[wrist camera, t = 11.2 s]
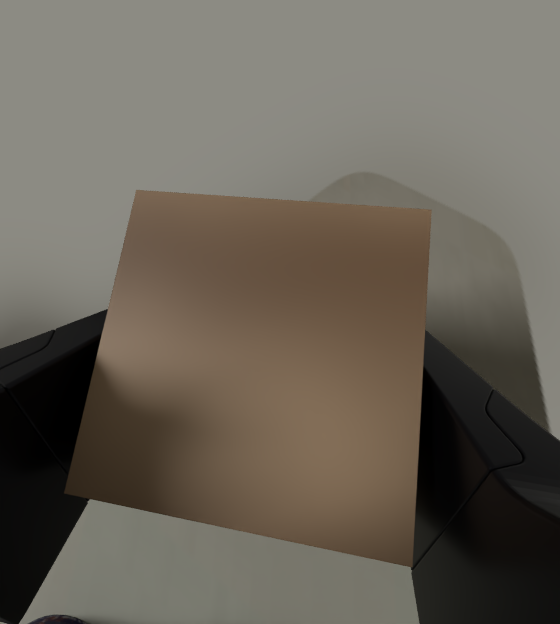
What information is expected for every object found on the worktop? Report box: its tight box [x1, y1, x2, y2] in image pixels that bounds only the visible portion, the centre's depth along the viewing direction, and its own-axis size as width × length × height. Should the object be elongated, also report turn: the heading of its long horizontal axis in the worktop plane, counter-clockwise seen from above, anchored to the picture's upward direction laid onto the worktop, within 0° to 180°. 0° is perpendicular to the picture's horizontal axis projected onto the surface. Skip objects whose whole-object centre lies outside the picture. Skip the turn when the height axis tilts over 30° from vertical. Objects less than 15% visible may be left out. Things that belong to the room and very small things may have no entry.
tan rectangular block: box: [64, 190, 431, 567], centre depth 10 cm, size 6×6×10 cm
